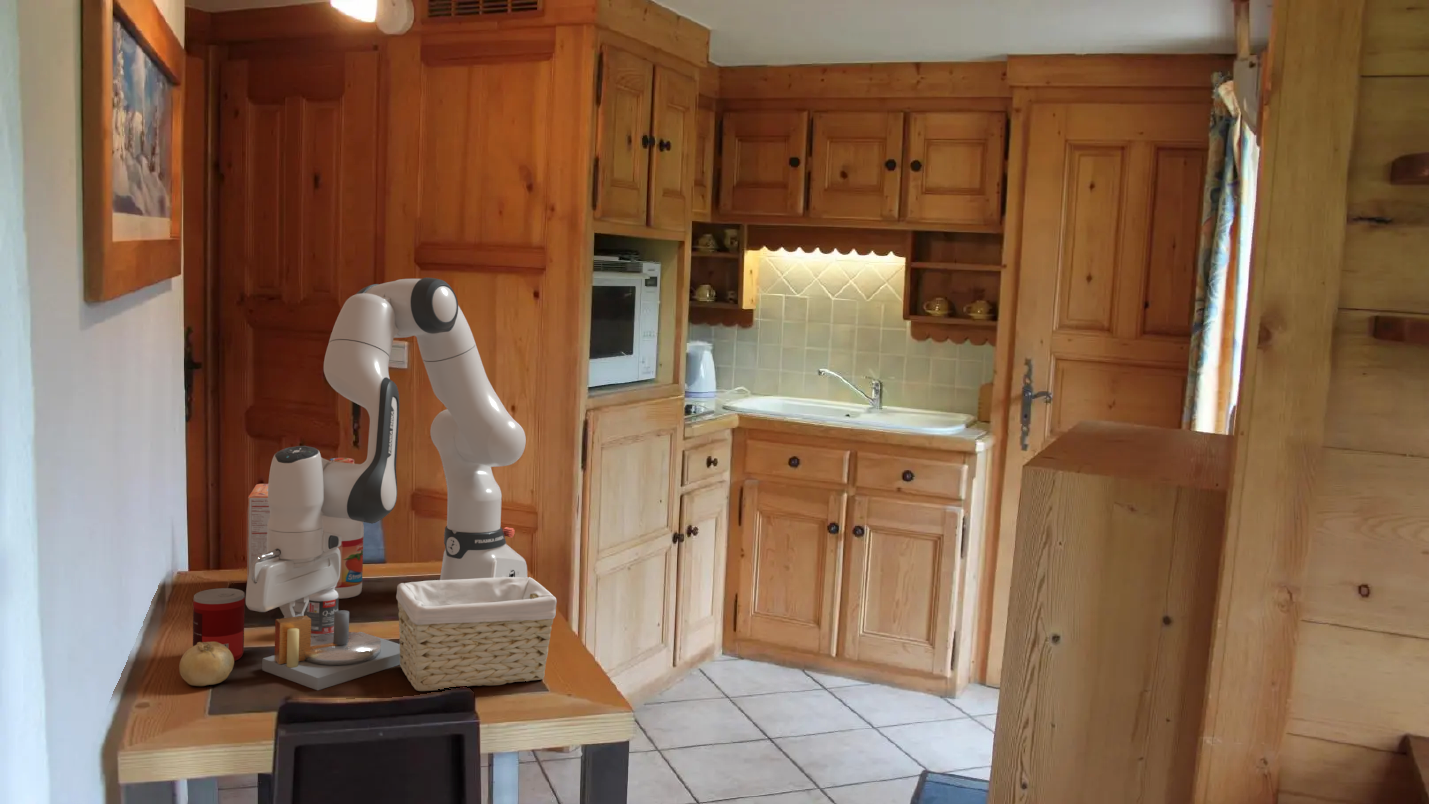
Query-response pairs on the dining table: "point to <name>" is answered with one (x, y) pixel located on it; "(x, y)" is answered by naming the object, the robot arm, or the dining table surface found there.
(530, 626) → the storage basket
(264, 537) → the cracker box
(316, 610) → the pill bottle
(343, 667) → the post board
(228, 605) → the canned food
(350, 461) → the fruit juice
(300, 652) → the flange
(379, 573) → the dining table surface
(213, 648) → the onion
